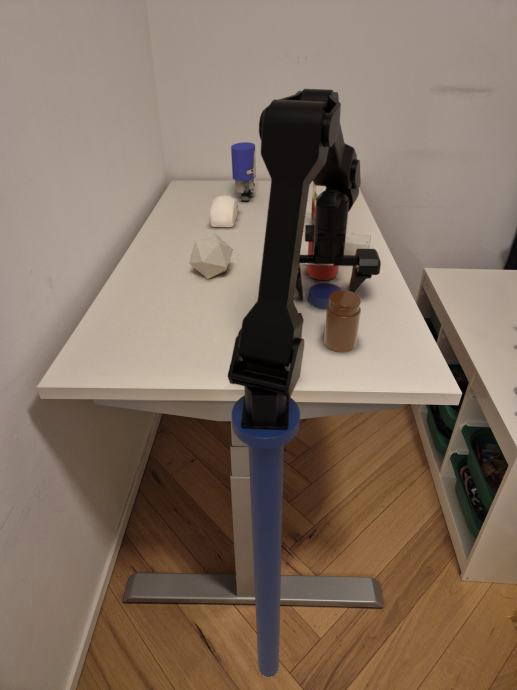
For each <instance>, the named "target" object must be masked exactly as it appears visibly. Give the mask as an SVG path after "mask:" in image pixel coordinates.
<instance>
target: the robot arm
mask: <svg viewBox="0 0 517 690" xmlns="http://www.w3.org/2000/svg"><path fill="white" fill-rule="evenodd" d="M339 99H340V97H339V92H338V91H334V90H333V89H327V88H326V89H323V88H303V89H302V90H298V91H297V92H296V93H295V94H292V95H289V96H285V97H281V98H279V99H273V100H271V102H270V103H269V105H268V106H266V107H265V108H264V109H263V110H262V111H261V112H260V116H259V121H258V135H259V139H260V156H261V158H262V161H263V163H264V165H265V168H266V171H267V172H268V175H269V177H270V189H269V198H268V207H267V215H266V223H265V232H264V241H263V248H262V249H263V251H262V259H261V269H260V277H259V283H258V284H259V285H258V295H257V301H256V302H255V303H254V305H253V306H252V307H251V308H250V309H249V311H248V312H247V313H246V315H245V316H243V319H242V322H241V327H240V329H239V331H238V334H237V336H236V337H235V340H234V344H233V350H232V355H231V360H230V364H229V368H228V371H227V379H228V382H229V384H231V385H238V386H243V387H244V395H245V396H244V395H243V396H244V404H243V412H242V419H241V427H242V428H243V429H264V430H287V429H288V428H289V398H290V397H291V398H292V395H293V392H294V390H295V388H296V386H297V384H298V382H299V379H300V377H301V371H302V365H303V358H304V351H305V339H304V338H302V336H303V335H302V334H303V327H304V321H305V320H304V317H303V314H302V312H299V311H298V309H297V307H296V304H295V295H296V291H297V295H298V297H299V300H300V301H301V302H303V301H304V289H303V281H302V270H301V266H307V265H320V266H338V267H352V269H351V276H350V280H349V285H348V288H347V291H351V292H354V293H357V291H358V289H359V288H360V287H361V286H362V284H363V283H364V282H365V281H366V280H370V279H372V277H373V276H378V275H380V272H381V267H382V266H381V265H382V263H381V262H382V261H381V258H380V255H379V252H378V250H376V249H375V248H370V249H357V250H356V255H344V249H345V239H346V235H347V228H348V219H349V218H348V217H349V212H350V211H351V209H352V208H353V206H354V204H355V203H356V201H357V199H358V197H359V194H360V188H361V183H362V182H361V181H362V180H361V160H360V159H358V155H357V151H356V149H355V147H353V146H351V145H349V144H347V143H346V142H345V139H344V134H343V130H342V125H341V111H342V110H341V109H342V103H341V102H340V100H339ZM313 182H314V184H315V185H316V186H326V189H325V191H323V192H322V193H320V194H319V195H318V197H317V198H316V208H315V225H311V224H305V221H306V214H307V207H308V199H309V192H310V186H311V184H312V183H313ZM303 235H304V236H303ZM303 237H304V242H306V243H308V242H312V251H313V255H308V254H301V251H302V245H303V244H302V243H303ZM284 426H286V427H284Z"/></svg>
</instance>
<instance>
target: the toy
mask: <svg viewBox="0 0 517 690" xmlns="http://www.w3.org/2000/svg"><path fill="white" fill-rule="evenodd" d="M230 152H231V170H232V171H231V173H232V179H233V180H234V185H235V186H234V190H235V192H236V193H240V196H241V198H240V201H250V200H251V199H250V197H252V196H253V195H254V193H253V192H254V191H255V185H256V183H255V181H254V179H255V178H256V176H257V170H256V169H257V165H256V144H255V143H253V142H247V141H244V142H243V141H241V142H236V143H234V144H232V145H231V146H230Z"/></svg>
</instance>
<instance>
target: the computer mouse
mask: <svg viewBox="0 0 517 690" xmlns="http://www.w3.org/2000/svg"><path fill="white" fill-rule="evenodd" d="M238 214H239V203H238V200H237V199H236V198H234V197H233V196H230V195H218V196H217V197H215V198H214V199H213V201H212V203H211V206H210V211H209V217H210V218H209V219H210V226H211V227H213V228H233V227H234V226H235V223H236V221H237V217H238Z"/></svg>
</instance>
